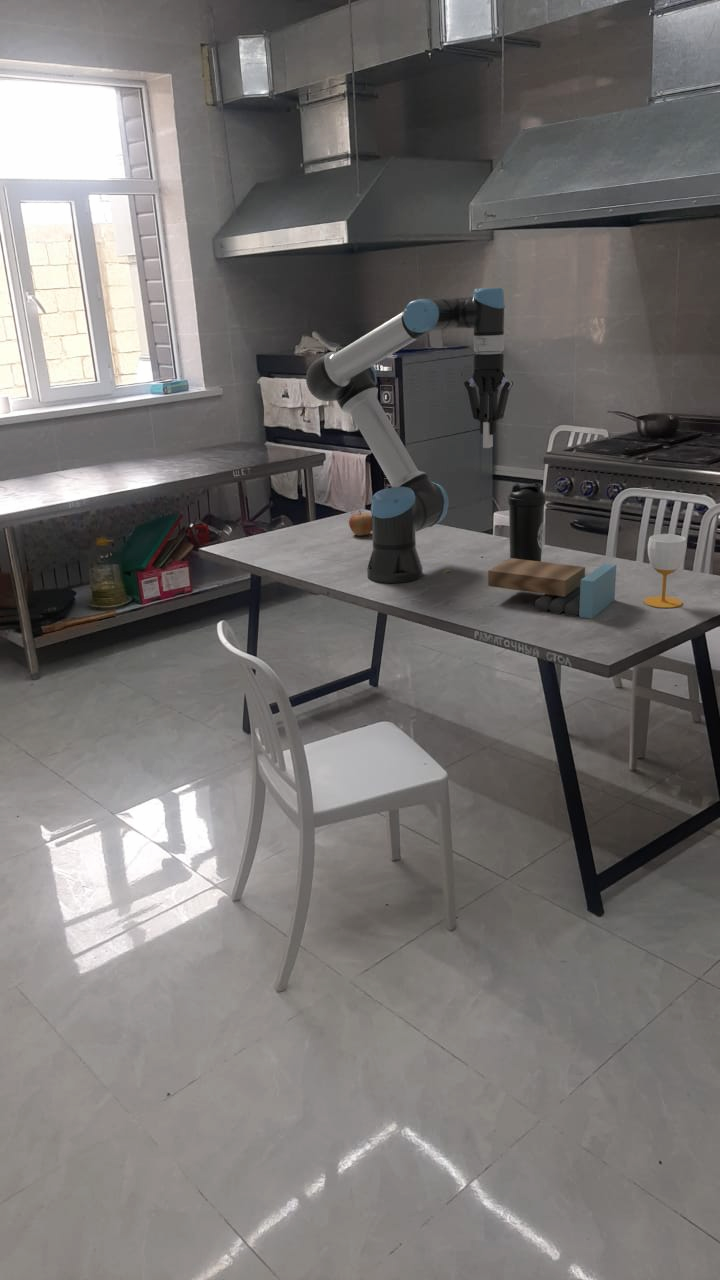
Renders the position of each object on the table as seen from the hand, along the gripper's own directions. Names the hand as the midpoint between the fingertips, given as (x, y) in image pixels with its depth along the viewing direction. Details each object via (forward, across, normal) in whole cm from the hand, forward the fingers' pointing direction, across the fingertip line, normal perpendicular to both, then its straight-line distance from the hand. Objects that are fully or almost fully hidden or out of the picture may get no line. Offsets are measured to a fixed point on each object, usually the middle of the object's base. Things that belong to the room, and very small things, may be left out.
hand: (487, 447), depth 251 cm
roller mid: (+32, +28, -15) cm, 45 cm away
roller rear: (+32, +27, -15) cm, 44 cm away
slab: (+31, +21, -15) cm, 40 cm away
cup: (+35, +49, -4) cm, 60 cm away
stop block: (+34, +36, -15) cm, 52 cm away
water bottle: (+35, +6, +12) cm, 37 cm away
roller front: (+35, +33, -15) cm, 50 cm away
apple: (+35, -56, +24) cm, 70 cm away
